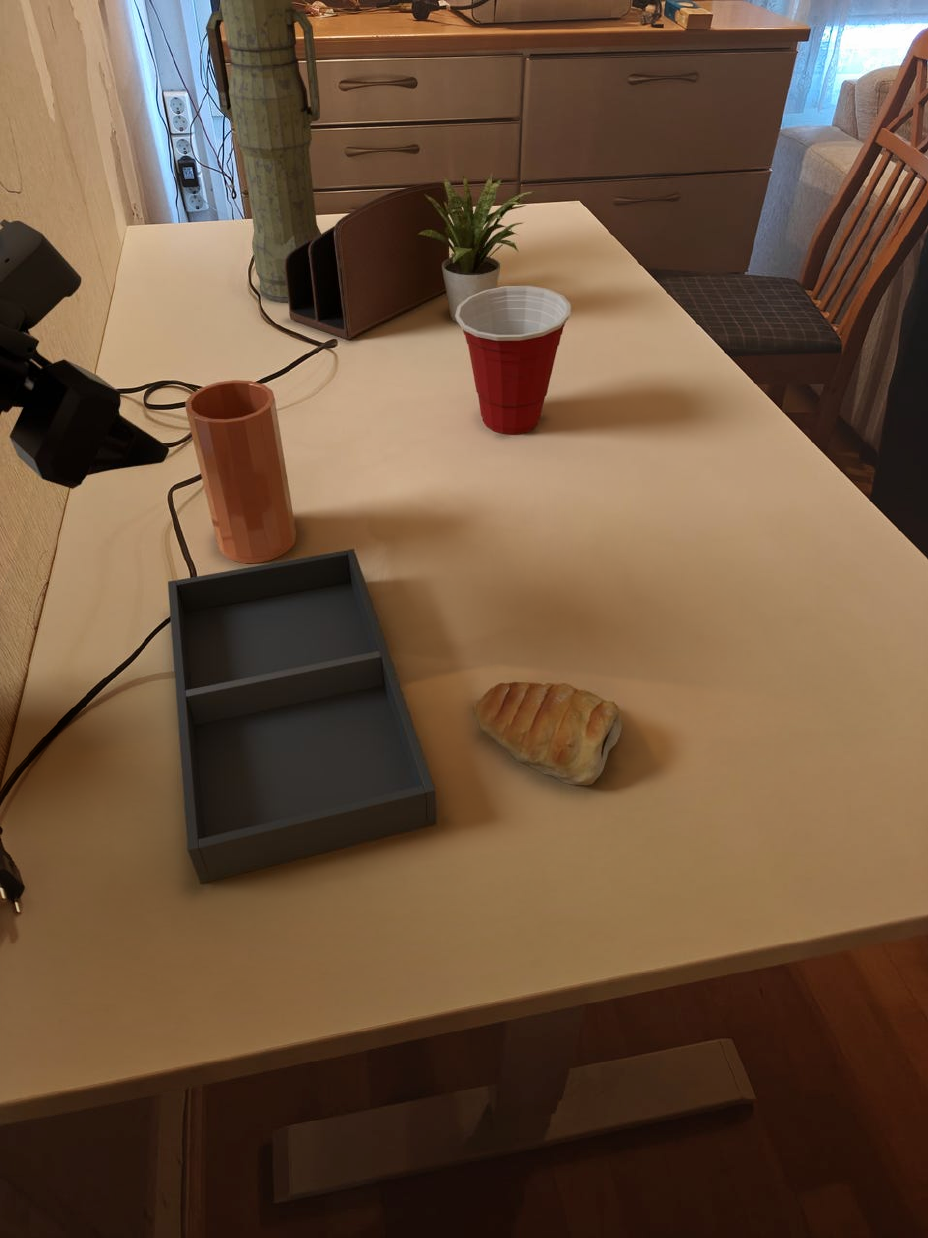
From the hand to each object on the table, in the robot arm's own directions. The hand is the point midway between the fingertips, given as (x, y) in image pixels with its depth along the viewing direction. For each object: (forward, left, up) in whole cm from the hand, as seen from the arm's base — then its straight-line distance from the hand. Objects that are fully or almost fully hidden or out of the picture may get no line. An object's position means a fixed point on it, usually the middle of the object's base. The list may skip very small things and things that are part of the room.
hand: (132, 429), depth 60 cm
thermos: (+18, +58, -14) cm, 63 cm away
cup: (+7, +4, -14) cm, 16 cm away
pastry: (+23, -24, -14) cm, 36 cm away
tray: (+7, -16, -14) cm, 22 cm away
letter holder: (+27, +50, -14) cm, 59 cm away
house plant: (+38, +42, -14) cm, 59 cm away
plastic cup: (+34, +17, -14) cm, 41 cm away
